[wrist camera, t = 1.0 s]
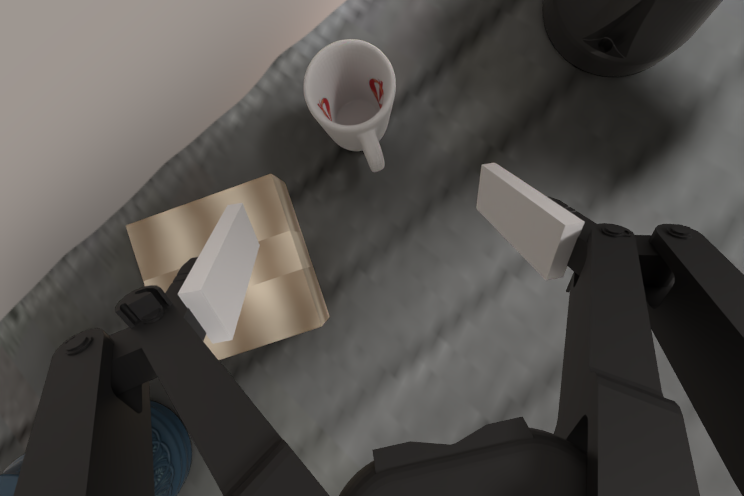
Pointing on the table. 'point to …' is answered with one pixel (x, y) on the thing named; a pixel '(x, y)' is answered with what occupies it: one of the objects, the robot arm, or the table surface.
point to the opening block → (271, 268)
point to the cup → (352, 96)
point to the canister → (167, 455)
